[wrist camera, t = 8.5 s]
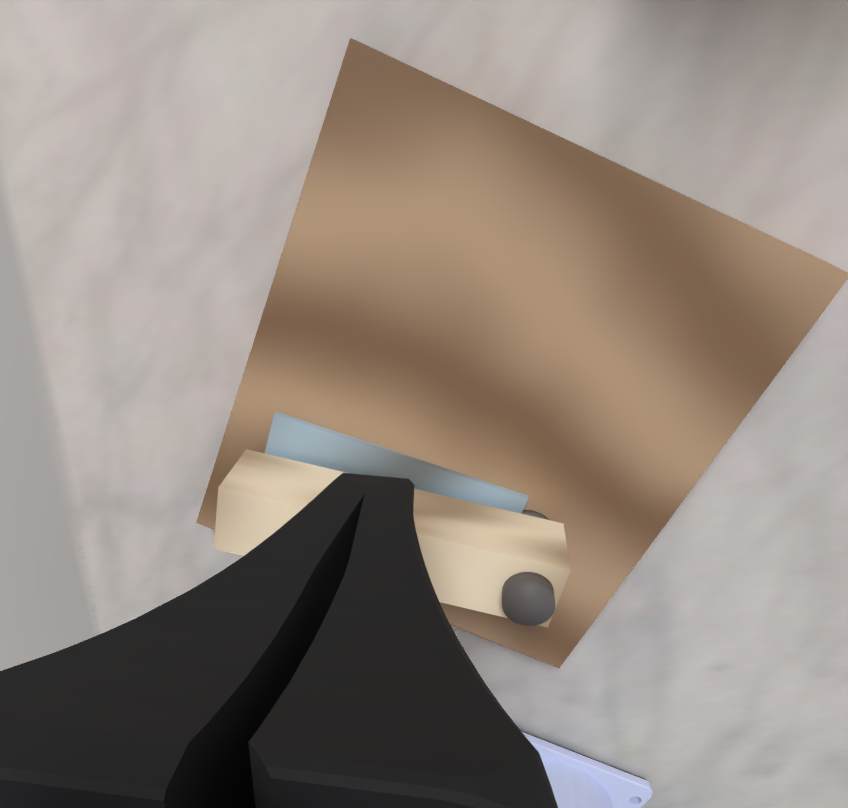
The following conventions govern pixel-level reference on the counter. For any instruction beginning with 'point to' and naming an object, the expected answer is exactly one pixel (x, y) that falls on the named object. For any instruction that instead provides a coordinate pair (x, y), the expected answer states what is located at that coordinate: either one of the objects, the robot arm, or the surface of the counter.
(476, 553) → the leg
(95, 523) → the counter surface
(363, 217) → the board
